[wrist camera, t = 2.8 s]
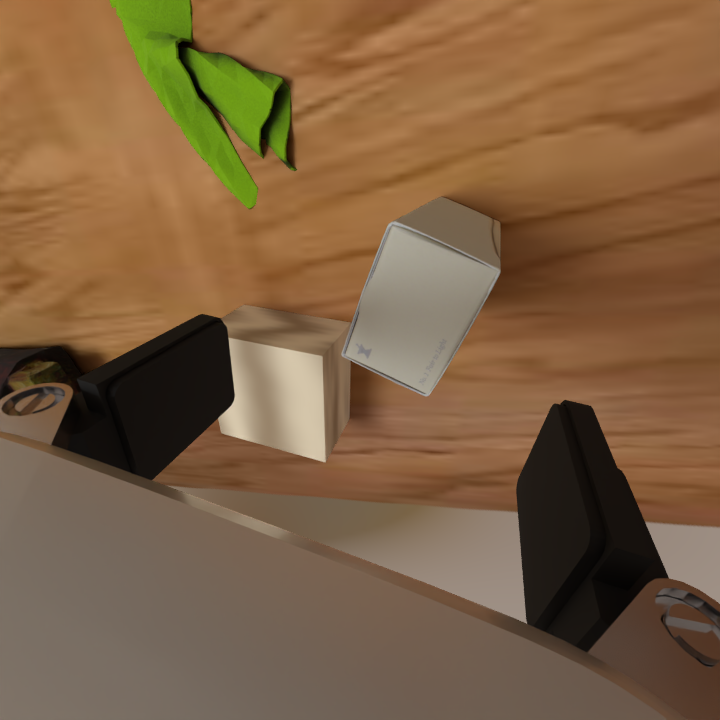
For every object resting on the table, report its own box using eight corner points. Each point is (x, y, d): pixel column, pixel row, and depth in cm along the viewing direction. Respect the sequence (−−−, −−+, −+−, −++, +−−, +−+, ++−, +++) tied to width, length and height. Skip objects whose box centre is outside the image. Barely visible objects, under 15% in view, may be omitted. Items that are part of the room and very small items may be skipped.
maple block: (352, 321, 29) (322, 356, 24) (350, 417, 34) (325, 462, 29) (245, 303, 31) (198, 331, 26) (258, 395, 36) (221, 433, 32)
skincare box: (456, 305, 25) (428, 404, 15) (399, 279, 26) (336, 360, 16) (503, 218, 22) (509, 272, 12) (437, 189, 22) (387, 218, 12)
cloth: (70, -315, 17) (14, -376, 15) (493, -202, 15) (492, -257, 13) (111, 148, 29) (82, 148, 27) (355, 253, 26) (343, 261, 24)
